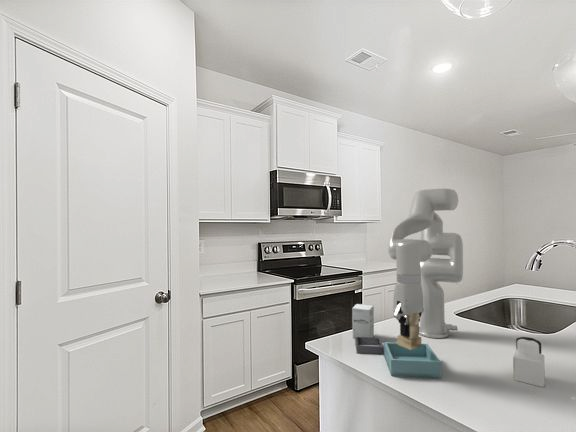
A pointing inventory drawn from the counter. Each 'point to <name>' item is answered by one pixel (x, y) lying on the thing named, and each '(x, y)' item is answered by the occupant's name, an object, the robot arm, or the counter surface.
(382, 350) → the collar
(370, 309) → the supplement box
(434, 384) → the counter surface
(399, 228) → the robot arm
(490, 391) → the counter surface
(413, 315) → the strut
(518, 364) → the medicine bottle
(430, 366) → the bin
